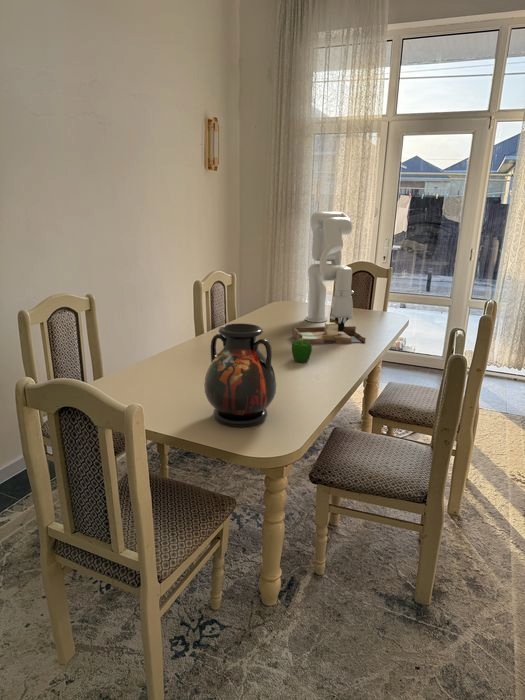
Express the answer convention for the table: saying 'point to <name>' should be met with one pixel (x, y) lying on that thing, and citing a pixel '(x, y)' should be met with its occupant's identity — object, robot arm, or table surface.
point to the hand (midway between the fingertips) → (340, 330)
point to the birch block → (331, 329)
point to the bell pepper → (301, 350)
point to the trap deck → (319, 337)
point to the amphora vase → (240, 376)
